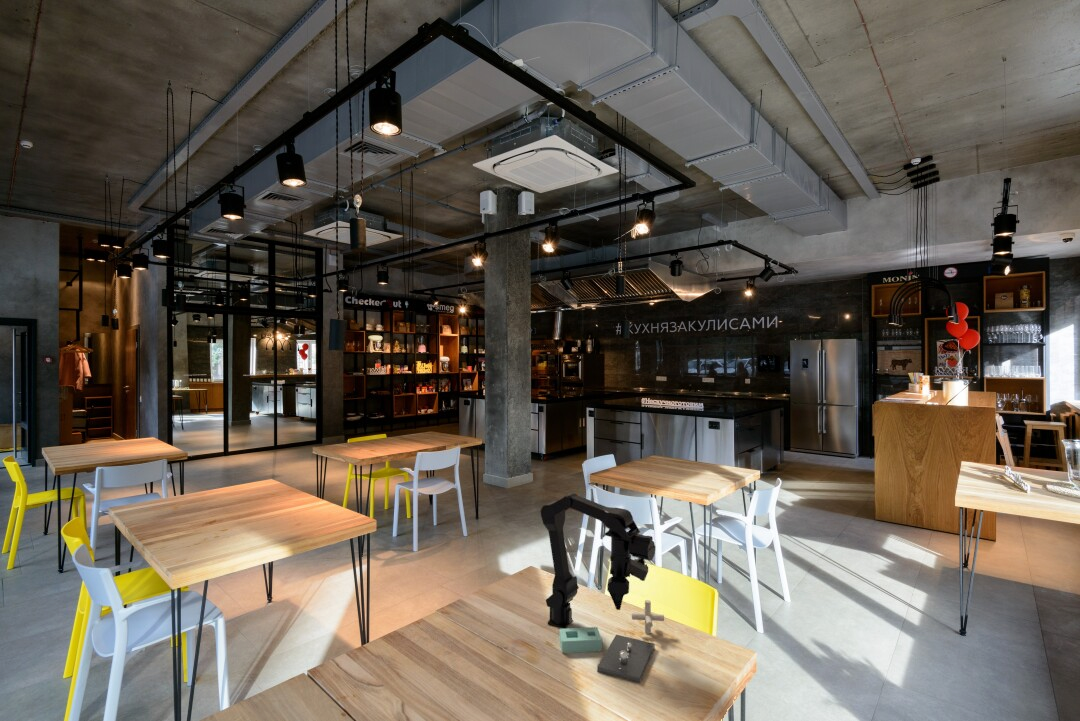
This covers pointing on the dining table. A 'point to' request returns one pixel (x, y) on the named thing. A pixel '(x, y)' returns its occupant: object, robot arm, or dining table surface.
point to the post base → (633, 658)
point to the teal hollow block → (580, 640)
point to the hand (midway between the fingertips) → (619, 602)
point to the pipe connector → (647, 617)
